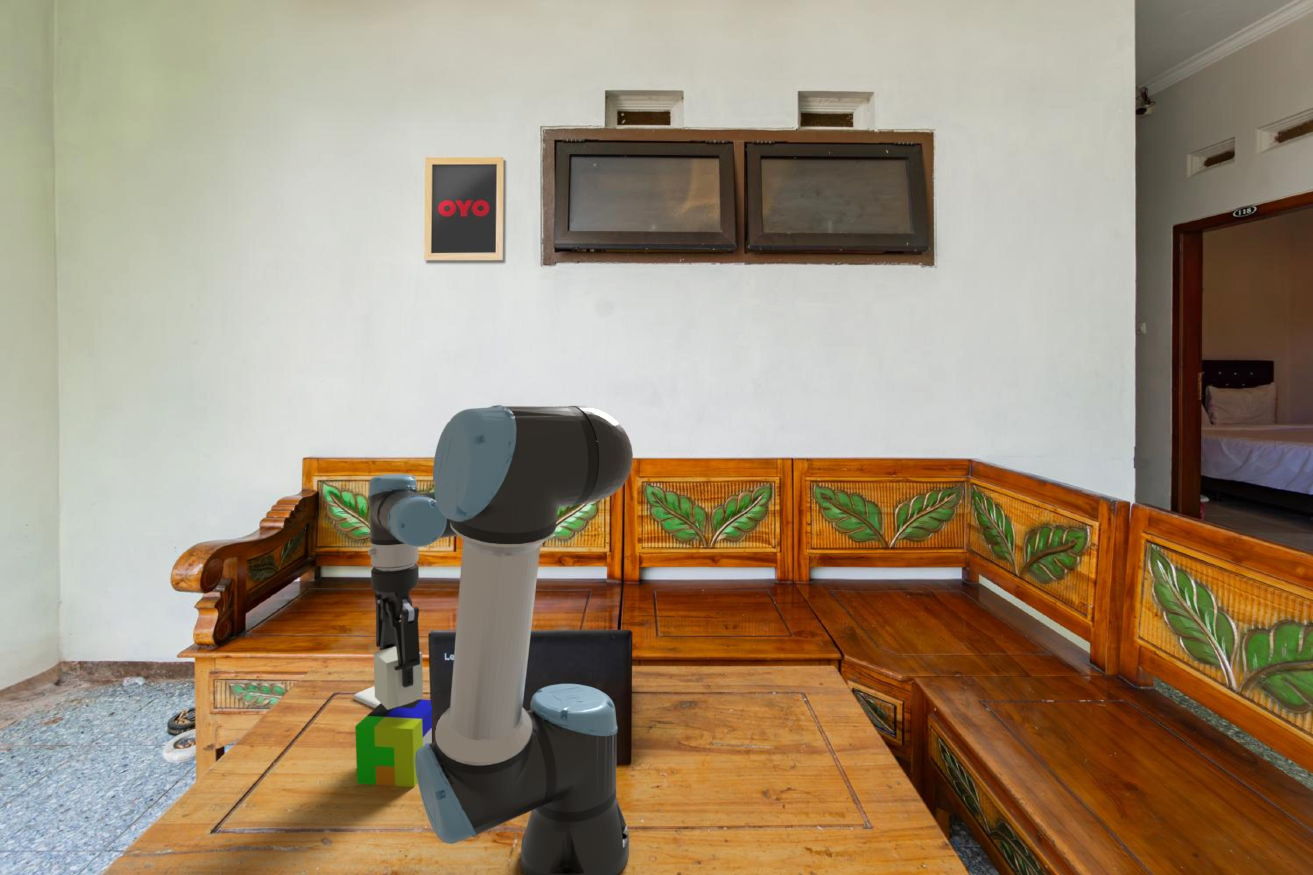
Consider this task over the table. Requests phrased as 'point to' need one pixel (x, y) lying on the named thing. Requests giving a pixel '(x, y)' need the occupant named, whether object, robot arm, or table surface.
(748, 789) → the table surface
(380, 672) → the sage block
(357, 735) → the puzzle toy
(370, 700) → the external hard drive
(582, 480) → the robot arm
